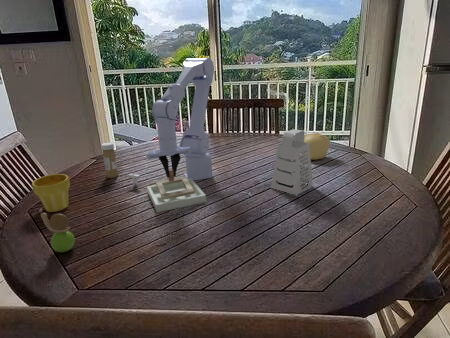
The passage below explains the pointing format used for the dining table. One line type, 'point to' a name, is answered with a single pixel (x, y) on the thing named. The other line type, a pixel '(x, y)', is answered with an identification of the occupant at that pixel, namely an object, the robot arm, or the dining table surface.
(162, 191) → the birch frame
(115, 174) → the sprinkles bottle
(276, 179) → the grater
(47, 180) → the plant pot
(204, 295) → the dining table surface
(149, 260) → the dining table surface
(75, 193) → the dining table surface
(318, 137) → the yellow round pot
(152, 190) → the sage tray
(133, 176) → the T-head stake
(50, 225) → the snail figurine
